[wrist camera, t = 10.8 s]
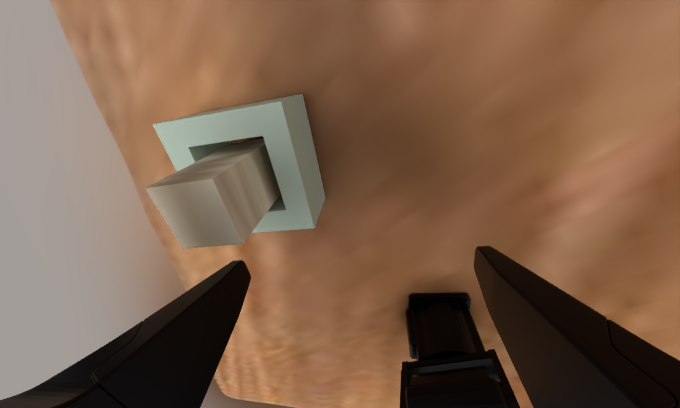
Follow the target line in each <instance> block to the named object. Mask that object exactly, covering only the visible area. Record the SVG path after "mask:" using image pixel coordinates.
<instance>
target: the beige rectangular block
mask: <svg viewBox="0 0 680 408" xmlns="http://www.w3.org/2000/svg"><path fill="white" fill-rule="evenodd" d="M145 189H146V190H147V192H148V193H149V195H150V197H151V198H152V200H153V202H154V203H155V205H156V206H157V208H158V210H159V211H160V213H161V214H162V216H163V218H164V219H165V221H166V223H167V224H168V226H169V227H170V229H171V231H172V232H173V234H174V235H175V237H176V239H177V240H178V242H179V244H180V245H181V247H182V248H183V249H185V248H198V247H211V246H224V245H238V244H243V243H244V242H245V241H246V239H247V238H248V237H249V235H250V234H251V233H252V231H253V230H254V229H255V227H256V226H257V225H258V223H259V222H260V221H261V219H262V218H263V217H264V215H265V214H266V213H267V211H268V210H269V209H270V207H271V206H272V205H273V203H274V202H275V201H276V199H277V198H278V197H279V195H280V194H281V192H280V189H279V185H278V182H277V179H276V176H275V173H274V170H273V166H272V163H271V160H270V157H269V154H268V151H267V147H266V144H265V141H264V138H263V139H257V140H251V141H245V142H240V143H234V144H230V145H228V146H226V147H224V148H222V149H220V150H218V151H216V152H214V153H212V154H210V155H208V156H206V157H204V158H203V159H201V160H199V161H197V162H195V163H193V164H191V165H189V166H187V167H185V168H183V169H181V170H179V171H178V172H176V173H174V174H172V175H170V176H168V177H166V178H164V179H162V180H160V181H158V182H156V183H154V184H152V185H151V186H149V187H147V188H145Z"/></svg>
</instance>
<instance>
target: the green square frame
mask: <svg viewBox="0 0 680 408" xmlns="http://www.w3.org/2000/svg"><path fill="white" fill-rule="evenodd" d="M153 126H154V128H155V130H156V132H157V134H158V136H159V138H160V140H161V142H162V144H163V146H164V148H165V149H166V151H167V153H168V155H169V157H170V159H171V161H172V163H173V165H174V167H175V169H176V171H177V172H178V171H179V170H181V169H183V168H185V167H187V166H189V165H191V164H193V163H195V162H197V161H199V160H201V159H203V158H204V157H206V156H208V155H210V154H212V153H214V152H216V151H218V150H220V149H222V148H224V147H226V146H228V145H230V144H231V141H232V140H238V139H245V138H251V137H258V136H263V138H264V141H265V144H266V147H267V151H268V154H269V157H270V160H271V163H272V166H273V170H274V173H275V176H276V179H277V182H278V185H279V189H280V192H281V194H280V195H279V197H278V198H277V199H276V201H275V202H274V203H273V205H272V206H271V207H270V209H269V210H268V211H267V213H266V214H265V215H264V217H263V218H262V219H261V221H260V222H259V223H258V225H257V226H256V227H255V229H254V230H253V231H252V233H257V232H270V231H284V230H298V229H312V228H315V226H316V223H317V220H318V218H319V215H320V212H321V210H322V207H323V204H324V202H325V199H326V197H325V192H324V188H323V183H322V179H321V174H320V170H319V165H318V161H317V156H316V152H315V147H314V143H313V138H312V134H311V129H310V125H309V120H308V116H307V111H306V107H305V102H304V98H303V94H299V95H293V96H288V97H282V98H277V99H271V100H266V101H261V102H255V103H250V104H244V105H239V106H233V107H228V108H223V109H217V110H212V111H206V112H201V113H197V114H193V115H189V116H184V117H180V118H176V119H172V120H168V121H164V122H160V123H156V124H153Z"/></svg>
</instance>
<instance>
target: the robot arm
mask: <svg viewBox="0 0 680 408" xmlns="http://www.w3.org/2000/svg"><path fill="white" fill-rule="evenodd" d="M474 269H475V273H476V276H477V279H478V282H479V285H480V288H481V291H482V294H483V297H484V299H485V302H486V305H487V308H488V311H489V313H490V316H491V318H492V320H493V322H494V324H495V327H496V329H497V331H498V333H499V335H500V337H501V339H502V341H503V344H504V346H505V348H506V350H507V352H508V354H509V356H510V358H511V360H512V363H513V365H514V367H515V369H516V371H517V373H518V375H519V377H520V380H521V382H522V384H523V386H524V388H525V390H526V392H527V394H528V397H529V399H530V401H531V403H532V405H533V407H534V408H680V361H679V360H678V359H676V358H674V357H672V356H670V355H669V354H667V353H665V352H663V351H662V350H660V349H658V348H656V347H655V346H653V345H651V344H650V343H648V342H646V341H645V340H643V339H641V338H639V337H638V336H636V335H634V334H633V333H631V332H629V331H628V330H626V329H624V328H623V327H621V326H620V325H618V324H616V323H615V322H613V321H611V320H607V318H606V317H605V316H603V315H601V314H600V313H598V312H597V311H595V310H593V309H592V308H590V307H588V306H587V305H585V304H584V303H582V302H580V301H579V300H577V299H575V298H574V297H572V296H571V295H569V294H567V293H566V292H564V291H562V290H561V289H559V288H558V287H556V286H554V285H553V284H551V283H549V282H548V281H546V280H545V279H543V278H541V277H540V276H538V275H536V274H535V273H533V272H532V271H530V270H528V269H527V268H525V267H523V266H522V265H520V264H518V263H517V262H515V261H514V260H512V259H510V258H509V257H507V256H505V255H504V254H502V253H501V252H499V251H497V250H496V249H494V248H492V247H491V246H478V247H477V248H476V250H475V259H474ZM250 280H251V275H250V273H249V271H248V268H247V266H246V264H245V262H244V261H242V260H238V261H232V262H231V263H229V264H228V265H226V266H225V267H223V268H222V269H220V270H219V271H217V272H216V273H214V274H213V275H211V276H209V277H208V278H206V279H205V280H203V281H202V282H200V283H199V284H197V285H196V286H194V287H193V288H191V289H190V290H188V291H187V292H185V293H184V294H182V295H181V296H180V297H178V298H177V299H175V300H173V301H172V302H170V303H169V304H167V305H166V306H164V307H163V308H161V309H160V310H158V311H157V312H155V313H154V314H152V315H151V316H149V317H148V318H146V319H145V320H144V321H142V322H140V323H139V324H137V325H136V326H134V327H133V328H131V329H129V330H128V331H126V332H125V333H123V334H122V335H120V336H119V337H117V338H116V339H114V340H112V341H111V342H109V343H108V344H106V345H104V346H103V347H101V348H99V349H98V350H96V351H95V352H93V353H91V354H90V355H88V356H87V357H85V358H83V359H81V360H80V361H78V362H77V363H75V364H73V365H72V366H70V367H68V368H67V369H65V370H63V371H62V372H60V373H58V374H57V375H55V376H53V377H52V378H50V379H49V380H47V381H45V382H43V383H42V384H40V385H38V386H36V387H34V388H32V389H30V390H28V391H25V392H23V393H21V394H18V395H15V396H12V397H9V398H6V399H3V400H0V408H200V407H201V404H202V402H203V400H204V397H205V395H206V393H207V390H208V388H209V386H210V383H211V380H212V378H213V376H214V374H215V371H216V369H217V367H218V364H219V362H220V360H221V357H222V355H223V353H224V350H225V348H226V346H227V343H228V341H229V338H230V336H231V334H232V331H233V329H234V327H235V324H236V322H237V320H238V317H239V314H240V312H241V309H242V306H243V302H244V299H245V296H246V293H247V290H248V287H249V283H250ZM470 301H471V299H470V296H469V295H468V294H417V295H410V296H409V310H406V326H407V334H408V342H409V350H410V357H411V358H412V359H416V360H417V361H414V362H408V361H406V362H402V370H401V392H400V408H520V407H519V404H518V402H517V399H516V397H515V395H514V393H513V390H512V388H511V386H510V384H509V381H508V379H507V377H506V375H505V372H504V370H503V368H502V366H501V363H500V361H499V359H498V357H497V354H496V352H495V350H494V349H491V350H488V351H485V349H484V346H483V344H482V341H481V339H480V336H479V333H478V331H477V328H476V326H475V323H474V321H473V318H472V316H471V313H470V311H469V309H470Z"/></svg>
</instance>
